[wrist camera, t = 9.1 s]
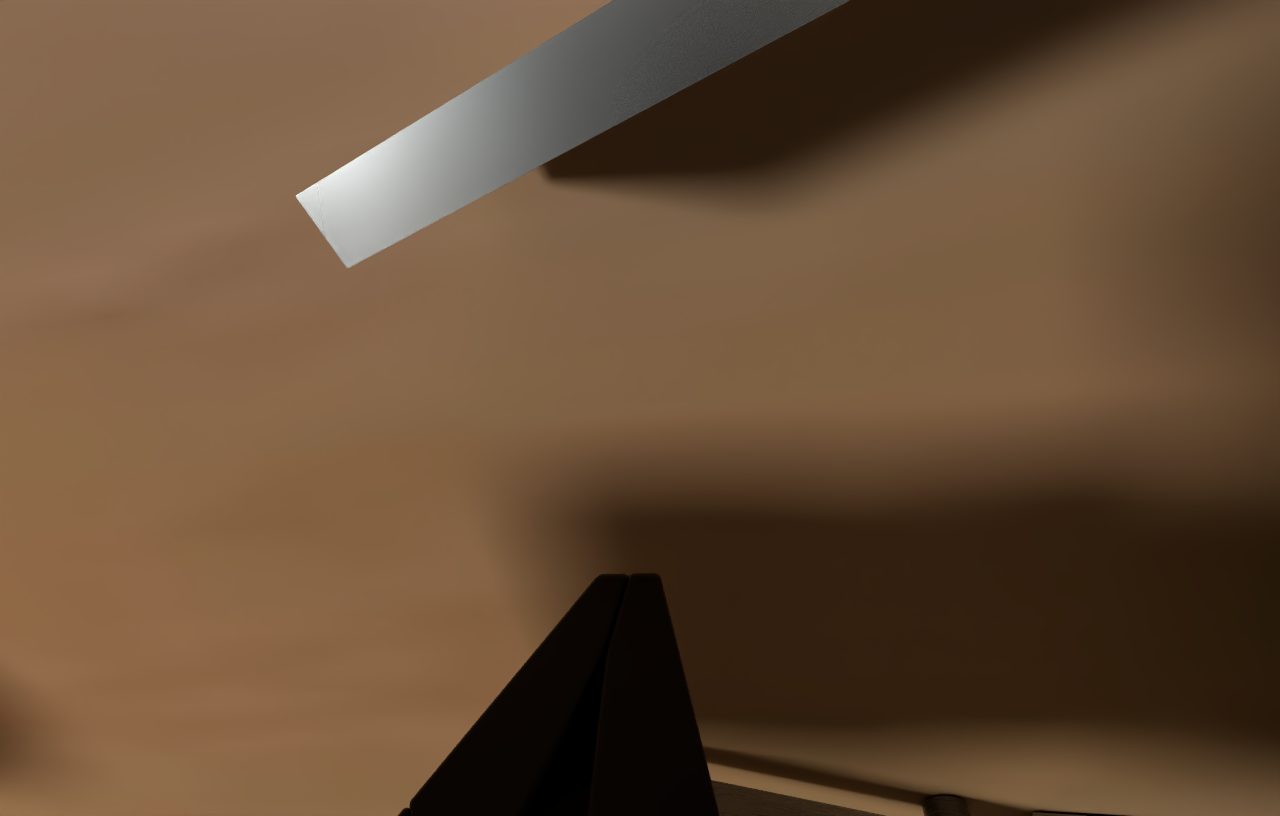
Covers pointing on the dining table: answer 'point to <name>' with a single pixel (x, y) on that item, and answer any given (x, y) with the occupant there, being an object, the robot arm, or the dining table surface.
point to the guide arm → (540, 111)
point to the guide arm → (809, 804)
